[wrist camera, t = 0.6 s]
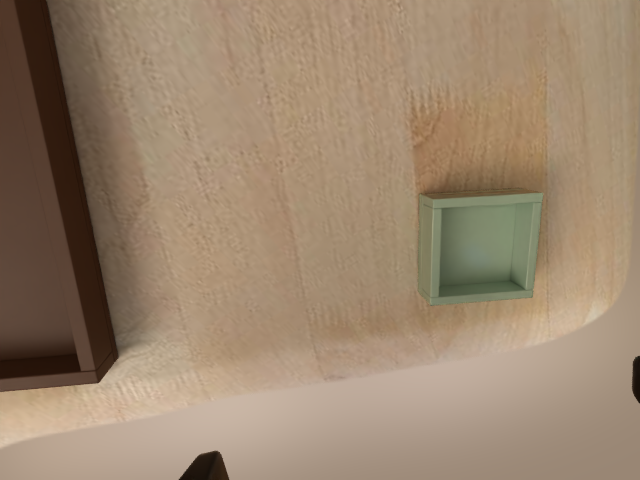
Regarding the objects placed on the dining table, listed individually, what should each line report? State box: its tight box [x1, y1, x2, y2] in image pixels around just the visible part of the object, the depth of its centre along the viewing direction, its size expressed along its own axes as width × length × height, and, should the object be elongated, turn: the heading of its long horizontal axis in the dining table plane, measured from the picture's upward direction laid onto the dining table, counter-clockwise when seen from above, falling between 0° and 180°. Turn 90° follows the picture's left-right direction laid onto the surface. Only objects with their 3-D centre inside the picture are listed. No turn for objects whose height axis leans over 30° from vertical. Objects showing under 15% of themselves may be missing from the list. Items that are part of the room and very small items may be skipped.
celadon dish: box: [418, 188, 543, 306], centre depth 22 cm, size 6×6×2 cm
